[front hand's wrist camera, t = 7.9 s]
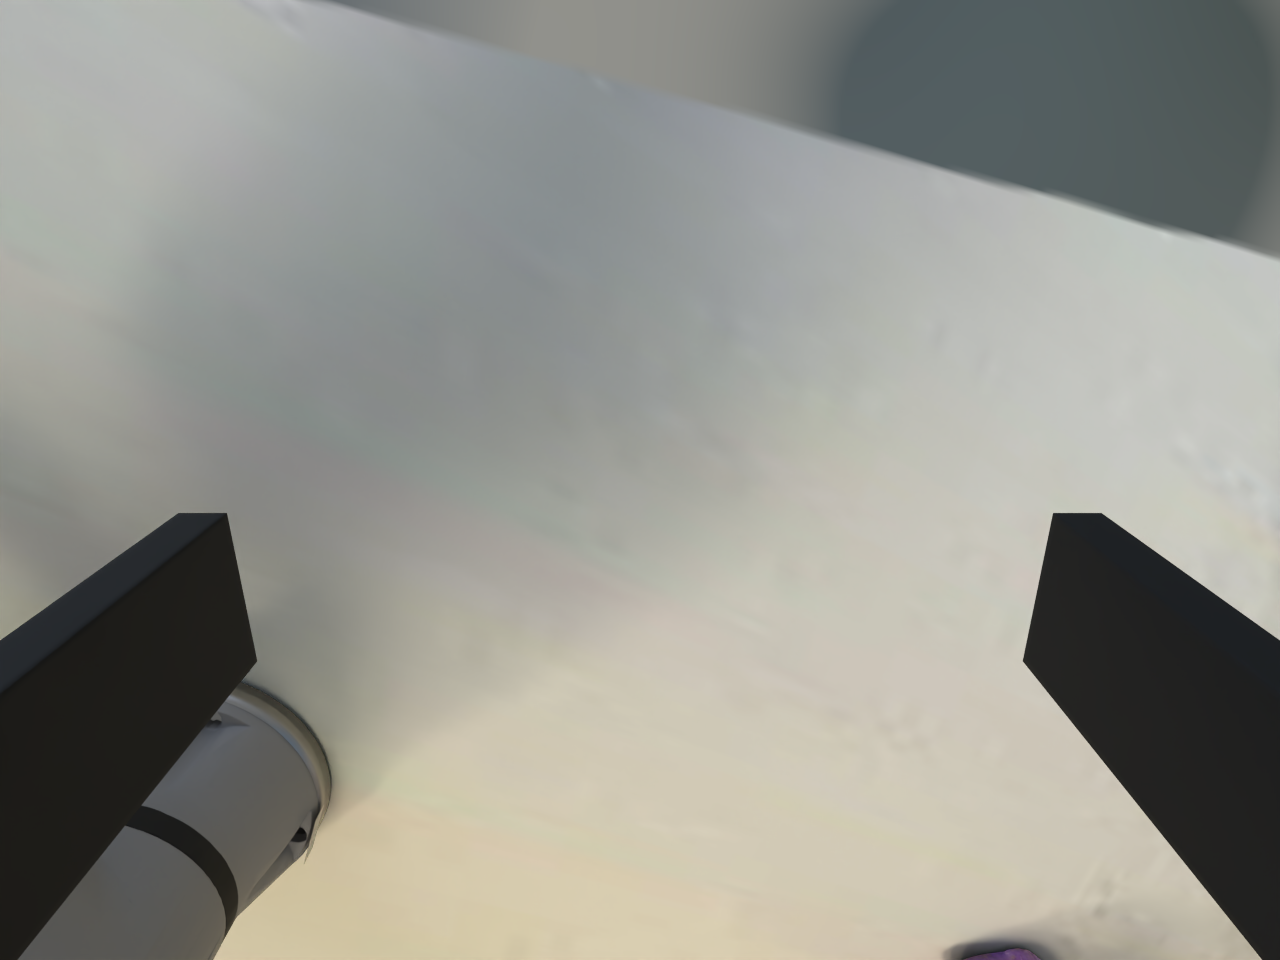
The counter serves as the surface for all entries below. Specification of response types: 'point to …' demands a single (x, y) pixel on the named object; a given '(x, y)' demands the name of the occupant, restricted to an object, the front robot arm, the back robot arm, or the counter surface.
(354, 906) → the counter surface
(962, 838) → the counter surface
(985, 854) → the counter surface
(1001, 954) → the figurine
